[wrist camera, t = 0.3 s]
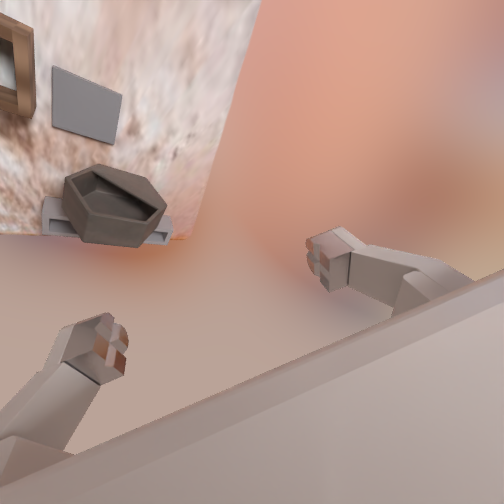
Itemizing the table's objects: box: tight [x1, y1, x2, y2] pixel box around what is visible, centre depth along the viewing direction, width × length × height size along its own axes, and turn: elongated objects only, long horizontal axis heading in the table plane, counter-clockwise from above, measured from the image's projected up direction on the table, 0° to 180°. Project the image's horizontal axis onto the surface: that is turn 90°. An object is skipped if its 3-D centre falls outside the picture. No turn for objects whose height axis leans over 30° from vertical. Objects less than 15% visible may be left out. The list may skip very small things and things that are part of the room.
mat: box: [52, 65, 122, 145], centre depth 43 cm, size 10×10×1 cm
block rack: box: [42, 196, 173, 245], centre depth 62 cm, size 7×29×6 cm, turn 58°
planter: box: [62, 164, 167, 248], centre depth 52 cm, size 17×8×21 cm
